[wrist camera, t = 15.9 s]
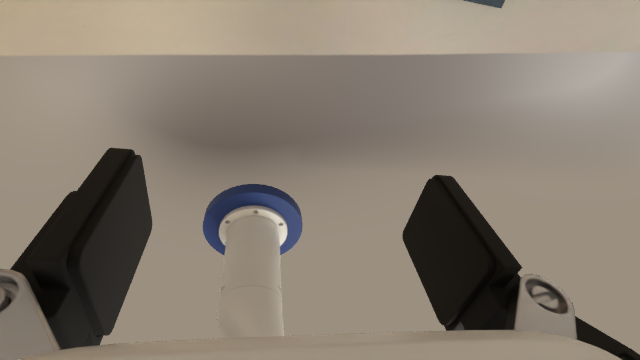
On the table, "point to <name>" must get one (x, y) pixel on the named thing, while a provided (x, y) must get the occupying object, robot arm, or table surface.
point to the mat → (489, 2)
